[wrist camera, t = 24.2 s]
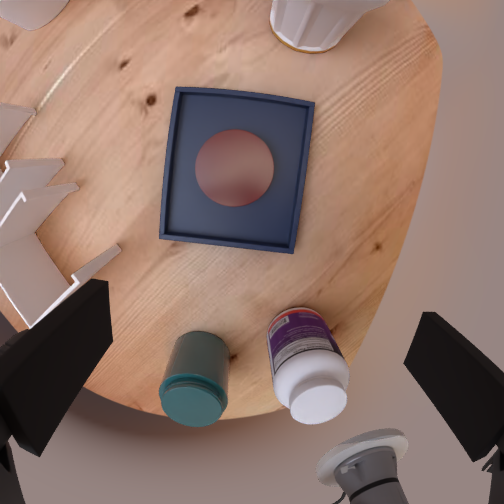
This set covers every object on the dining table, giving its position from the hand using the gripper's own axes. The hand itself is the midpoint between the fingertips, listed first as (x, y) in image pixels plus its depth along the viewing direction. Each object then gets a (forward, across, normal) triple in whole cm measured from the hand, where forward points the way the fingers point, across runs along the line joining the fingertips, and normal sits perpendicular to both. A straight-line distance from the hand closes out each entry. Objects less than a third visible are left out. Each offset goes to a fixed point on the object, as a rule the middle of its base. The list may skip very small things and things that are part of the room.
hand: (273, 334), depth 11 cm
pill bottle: (+24, +7, -13) cm, 29 cm away
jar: (+24, -5, -19) cm, 31 cm away
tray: (+24, -3, +6) cm, 25 cm away
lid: (+22, -3, +6) cm, 23 cm away
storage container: (+24, -28, +1) cm, 37 cm away
